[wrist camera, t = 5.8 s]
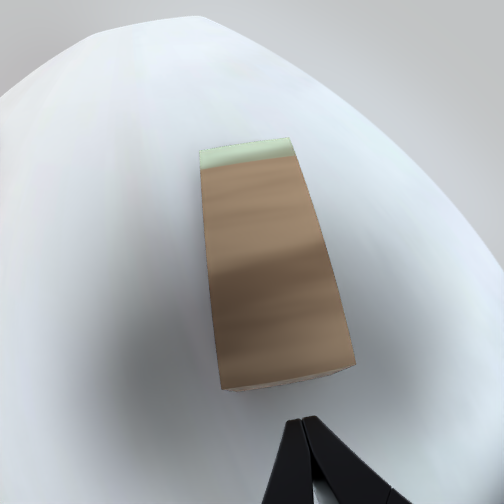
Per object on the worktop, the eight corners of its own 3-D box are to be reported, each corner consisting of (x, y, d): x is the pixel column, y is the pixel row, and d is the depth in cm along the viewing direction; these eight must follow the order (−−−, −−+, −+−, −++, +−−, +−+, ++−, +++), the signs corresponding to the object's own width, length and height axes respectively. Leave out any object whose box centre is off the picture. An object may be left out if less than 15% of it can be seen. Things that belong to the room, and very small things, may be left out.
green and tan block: (356, 364, 10) (289, 137, 16) (221, 389, 10) (199, 150, 16) (331, 374, 14) (287, 193, 20) (236, 391, 14) (213, 204, 20)
